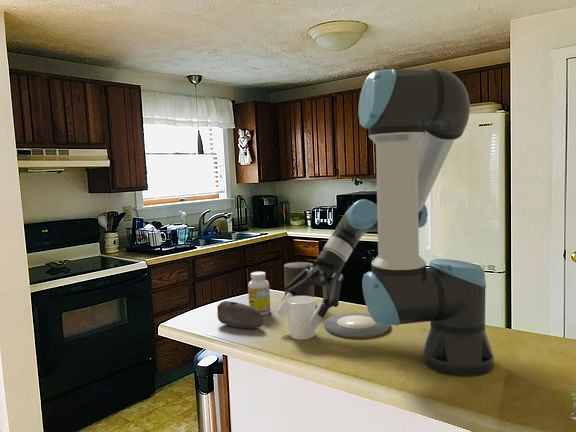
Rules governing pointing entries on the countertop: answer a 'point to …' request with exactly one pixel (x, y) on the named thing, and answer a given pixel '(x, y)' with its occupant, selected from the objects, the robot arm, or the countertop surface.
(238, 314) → the perforated stone tool
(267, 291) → the supplement bottle
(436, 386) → the countertop surface
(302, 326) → the white cup
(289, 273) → the pillar candle
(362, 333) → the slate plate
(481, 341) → the robot arm
